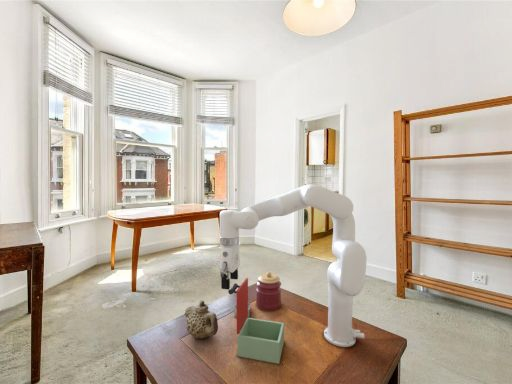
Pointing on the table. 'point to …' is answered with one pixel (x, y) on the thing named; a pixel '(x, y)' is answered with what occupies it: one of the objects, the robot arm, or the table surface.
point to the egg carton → (248, 309)
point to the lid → (241, 303)
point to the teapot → (201, 321)
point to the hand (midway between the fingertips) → (230, 283)
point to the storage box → (261, 340)
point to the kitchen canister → (268, 292)
